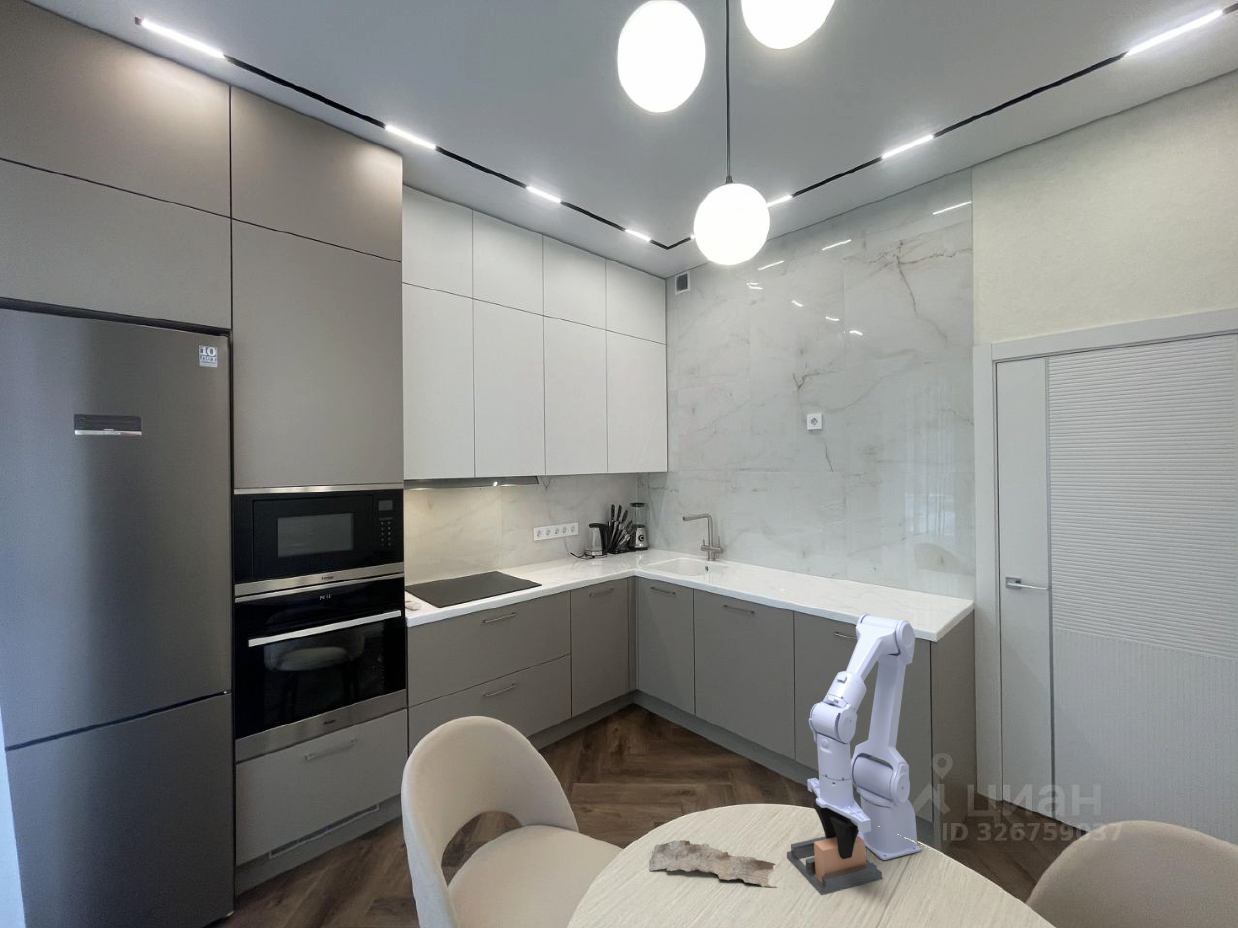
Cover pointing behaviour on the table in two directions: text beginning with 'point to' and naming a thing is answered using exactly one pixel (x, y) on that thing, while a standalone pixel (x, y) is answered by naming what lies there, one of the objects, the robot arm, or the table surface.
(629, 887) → the table surface
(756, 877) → the stone fragment
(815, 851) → the terracotta strip
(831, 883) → the drying rack
